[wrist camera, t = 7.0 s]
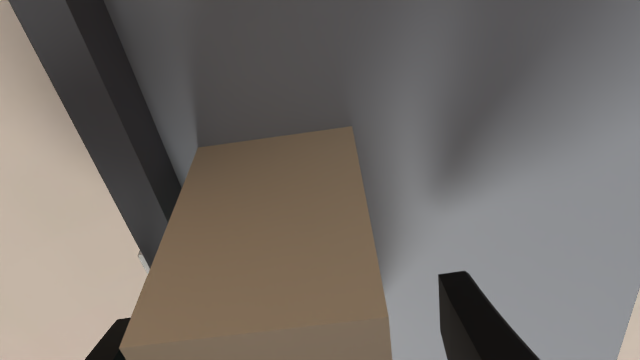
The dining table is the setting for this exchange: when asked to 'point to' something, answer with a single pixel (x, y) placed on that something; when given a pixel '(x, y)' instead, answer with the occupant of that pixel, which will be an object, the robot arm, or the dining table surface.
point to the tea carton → (266, 259)
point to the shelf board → (392, 136)
